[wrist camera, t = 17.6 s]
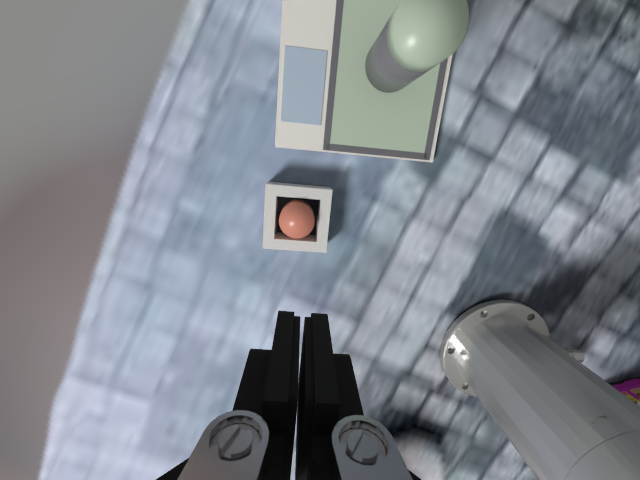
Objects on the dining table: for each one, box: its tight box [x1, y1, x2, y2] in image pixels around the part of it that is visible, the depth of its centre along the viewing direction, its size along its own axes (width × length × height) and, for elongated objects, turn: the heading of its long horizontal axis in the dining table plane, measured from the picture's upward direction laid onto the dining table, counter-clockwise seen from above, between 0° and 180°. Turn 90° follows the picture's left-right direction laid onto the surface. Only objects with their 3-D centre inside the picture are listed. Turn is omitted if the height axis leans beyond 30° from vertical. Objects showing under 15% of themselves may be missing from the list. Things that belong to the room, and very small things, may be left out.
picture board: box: [275, 0, 453, 162], centre depth 27 cm, size 15×16×1 cm
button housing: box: [263, 182, 333, 253], centre depth 29 cm, size 6×6×3 cm
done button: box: [279, 199, 315, 238], centre depth 29 cm, size 3×3×3 cm
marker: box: [365, 0, 469, 93], centre depth 22 cm, size 4×4×9 cm
